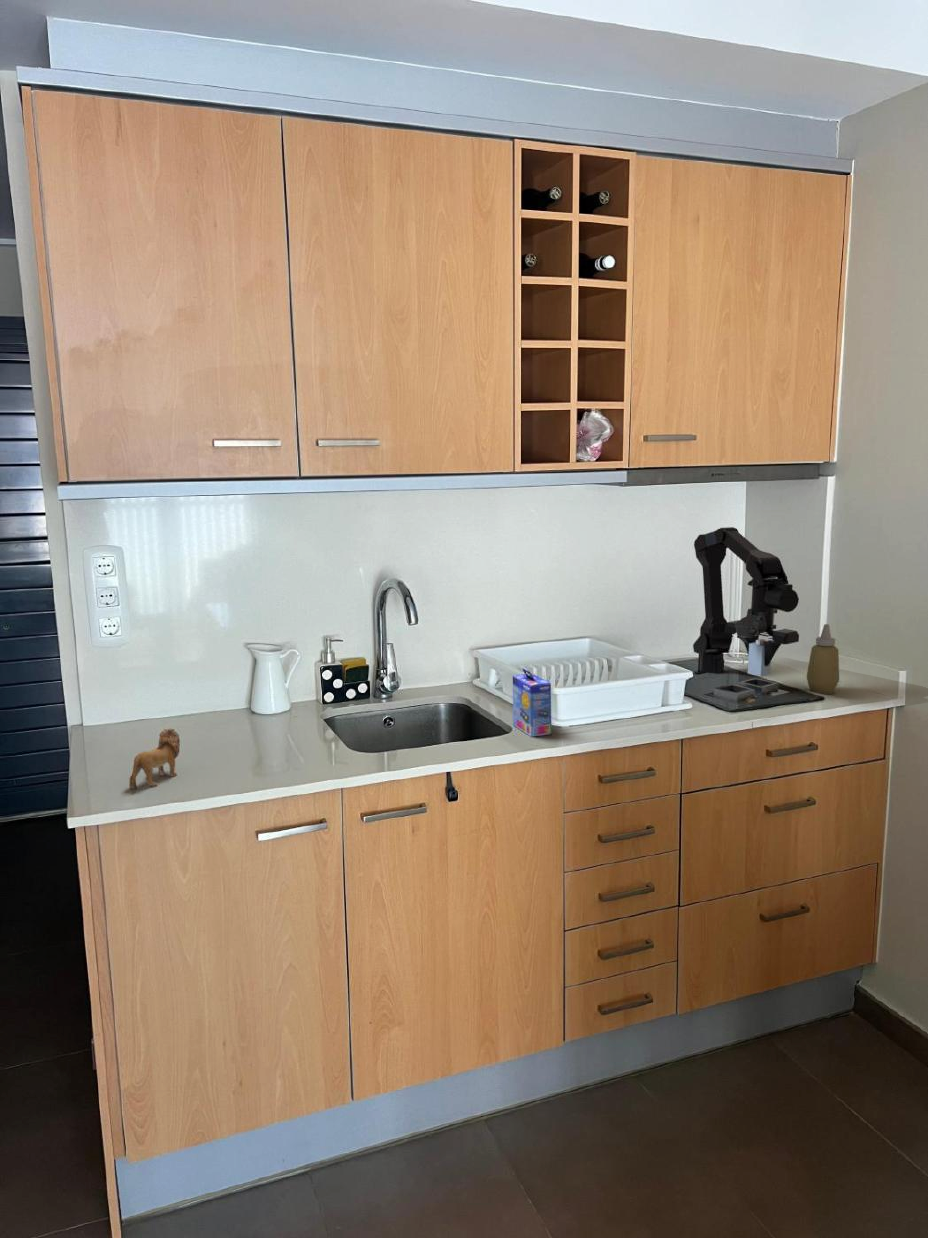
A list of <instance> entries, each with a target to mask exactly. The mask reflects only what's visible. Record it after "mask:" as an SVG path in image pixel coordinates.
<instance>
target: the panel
mask: <svg viewBox="0 0 928 1238" xmlns="http://www.w3.org/2000/svg"><path fill="white" fill-rule="evenodd" d="M788 693H789V691H787V690H783V689H780V688H779V682H775V681H770V680H766V679H763V678H757V677H753V678H750V679H745V680H741V681H738V684H733V683H729V684H725V685H721V686H719V687H714V689H713V691H712V692H708V693H704V694H702V696H705V697H710V698H713V699H716V700H720V701H724V702H728V703H731V704H735V705H737V706H738V705H739V706H744V705H747V704H752V703H754V702H758V701H761V700H766V699H771V698H773V697H777V696H780V695H784V694H788Z"/></svg>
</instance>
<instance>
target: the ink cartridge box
mask: <svg viewBox="0 0 928 1238" xmlns="http://www.w3.org/2000/svg"><path fill="white" fill-rule="evenodd" d="M522 671H523V673H521V674H513V675H512V725H513V726H514V727H515V728H517V730H520V731H522V732H523V733H524V734H526V735H527V736H529V737H533V738H534V737H540V736H541V737H542V736H547V735H549V736H550V735H552V684H551V682H550V681H549V680H546V679H544V678H541V677H539V675H537V674H534V673H531V671H530V670H527V669H525V668H523V667H522Z"/></svg>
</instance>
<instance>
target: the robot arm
mask: <svg viewBox="0 0 928 1238" xmlns="http://www.w3.org/2000/svg"><path fill="white" fill-rule="evenodd" d="M693 548H694V550H695V551H694V552H695V557H696V559H697V561H698V562H699V564H700V565H701V568H702V580H703V581H702V582H703V595H704V596H703V598H704V613H705V617H704V618H705V619H703V622H702V624H701V626H700V628H699V630H700V632H699V636H698V638H697V639H696V640H695V642H693V645H692V648H693V652H694V653H696V654H698V664H697V670H694V672H693V673H694V674H697V675H703V674H716V675H719V674H724V672H725V659H724V654H729V652H730V649H731V645H732V642H733V637H734V635H736V638H737V639H739V640H740V641H742V642H743V645H744V647H745V649H746V652H747V656H748V657H749V643H754V642H756V640H759V637H760V636H762V637H767V640H766V641H764V642H763V643H764V645H765V660H764V661H765V666H768V665H769V664H770V662H771V663H772V659H773V658H774V656H775V654H776V653H777V652H778V650H779V648H780V647H781V645H789V644H794V643H799V640H800V634H799V632H798V630H793V629H788V628H783V629H777V624H774V623H775V622H774V621H775V614H778V611H781V612H786V613H790V612H793V611H794V610H796V609H797V607H798V605H799V603H800V602H799V600H800V599H799V598H800V597H799V595H798V592H797V591H795V590H794V589H793V588H794V587H793V584H791V583H789V581H788V580H789V579H788V576H787V574H786V572H785V569H784V567H783V564H782V561H781V559H780V558H779V557H778V556H777V555H774V554H772V553H770V552H766V551H763V550H760V549H759V548H758V547H756V546H755V544H753V543H752V542H751V541H749V540H748V539H747V538H746V537H744V535H742V534H741V533H740V532H739V530H738V529H737V528H736V527H733V526H732V527H729V526H727V527H720V528H717V529H716V530H713V531H711V532H708V533H705V534H704V533H703V534H698V536H697V538H696V539H695V540H694V542H693ZM727 549H728V550H729V551H731V552H732V553H733V554H734V555H735V556H737V558H739V559H740V560H741V561H742V562H743V563H744V564H745V571H746V572H747V573H748V574H749V576H750V577H751V579H750V580H749V581H748V582H747V585H748V586H750V587H752V589H751V603H750V604H751V605H750V606H751V607H750V608H747V611H746V616H744V617H742V618H741V619H737V620H732V621H727V620H726V617H725V614H724V613H725V612H724V598H723V597H724V596H723V595H724V594H723V579H722V564H723V562H724V560H725V558H726V556H727ZM776 629H777V630H776Z"/></svg>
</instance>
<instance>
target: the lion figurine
mask: <svg viewBox="0 0 928 1238" xmlns="http://www.w3.org/2000/svg"><path fill="white" fill-rule="evenodd" d="M180 742H181V740H180V734H179V733H178V732H177V731H176V730H175V728H164V729H163V730H162V731H161V732H160V733H159V738H158V746H157V747H156V748H155V749H153V750H150V751H142V752H140V753H138V754H137V755H136V756H135V757H134V760H133V766H132V772H131V775H130V776H129V789H131V790H132V791H133V792H135V791H137V776H138V775H139V773H140V772H141V770H143V772H144V774H145V777H146V778H145V781H146V782H147V783H148V785H149V786H151V787H158V783H157V782H156V781H153V780H152V775H153V772H154V771H153V770H154V768H157V769H158V770H157V771H158V772H157V773H158V776H160V777H162V776H164V775H165V774H166V773H165V770H164V765H165V764H168V765H169V775H170V777H177V775H178V773H177V772H175V768H176V761H175V760H176V759H177V758H178V756H179V754H180V748H181V743H180Z"/></svg>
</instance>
